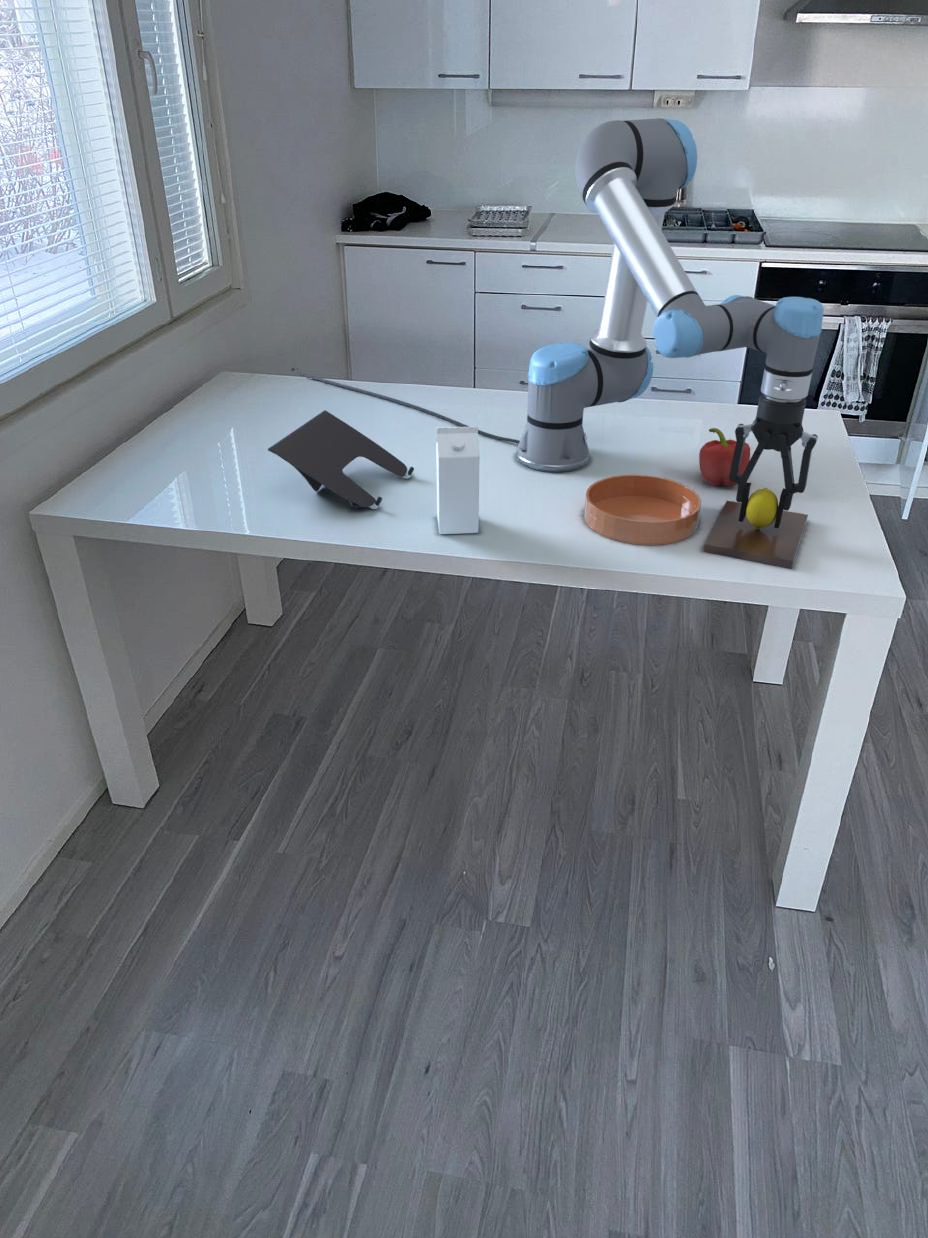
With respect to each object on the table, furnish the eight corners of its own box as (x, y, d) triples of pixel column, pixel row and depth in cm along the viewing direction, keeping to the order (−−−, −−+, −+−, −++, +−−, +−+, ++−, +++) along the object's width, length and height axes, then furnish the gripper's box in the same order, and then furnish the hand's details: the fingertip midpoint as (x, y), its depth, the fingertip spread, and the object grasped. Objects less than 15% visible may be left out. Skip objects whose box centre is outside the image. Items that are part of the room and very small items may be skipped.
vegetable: (682, 475, 193) (689, 429, 188) (724, 468, 197) (731, 422, 191) (714, 495, 185) (722, 447, 179) (757, 487, 188) (766, 440, 183)
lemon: (775, 537, 166) (783, 495, 162) (742, 534, 167) (750, 493, 163) (772, 523, 171) (780, 483, 166) (741, 520, 172) (748, 480, 167)
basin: (569, 531, 171) (570, 509, 168) (603, 488, 187) (605, 467, 185) (683, 554, 164) (686, 531, 161) (708, 507, 180) (711, 485, 178)
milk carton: (437, 518, 175) (435, 420, 165) (474, 516, 176) (476, 419, 166) (439, 535, 169) (438, 435, 159) (478, 533, 170) (479, 434, 160)
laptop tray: (356, 542, 179) (373, 506, 174) (256, 477, 180) (271, 439, 174) (404, 495, 198) (421, 462, 192) (313, 436, 198) (328, 401, 193)
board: (703, 551, 164) (704, 543, 164) (725, 507, 180) (726, 500, 179) (791, 568, 159) (793, 561, 159) (806, 521, 175) (808, 514, 174)
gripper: (722, 394, 156) (703, 520, 168) (839, 410, 150) (810, 540, 162) (731, 382, 162) (711, 504, 174) (844, 396, 156) (815, 523, 168)
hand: (759, 521), depth 168 cm, fingers closed on lemon, 5 cm apart
